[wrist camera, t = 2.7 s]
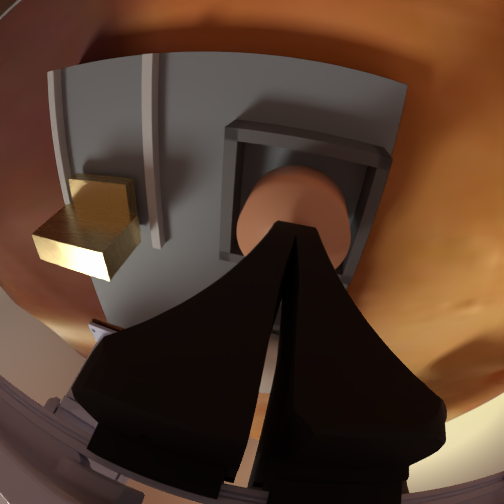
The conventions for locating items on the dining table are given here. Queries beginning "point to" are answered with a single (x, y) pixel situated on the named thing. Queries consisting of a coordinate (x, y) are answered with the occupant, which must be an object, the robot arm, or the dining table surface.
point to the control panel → (216, 155)
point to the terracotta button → (296, 208)
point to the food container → (7, 6)
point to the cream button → (269, 364)
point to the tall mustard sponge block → (93, 226)
